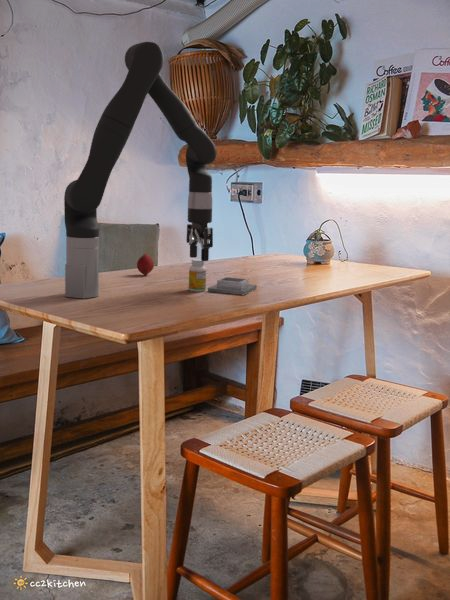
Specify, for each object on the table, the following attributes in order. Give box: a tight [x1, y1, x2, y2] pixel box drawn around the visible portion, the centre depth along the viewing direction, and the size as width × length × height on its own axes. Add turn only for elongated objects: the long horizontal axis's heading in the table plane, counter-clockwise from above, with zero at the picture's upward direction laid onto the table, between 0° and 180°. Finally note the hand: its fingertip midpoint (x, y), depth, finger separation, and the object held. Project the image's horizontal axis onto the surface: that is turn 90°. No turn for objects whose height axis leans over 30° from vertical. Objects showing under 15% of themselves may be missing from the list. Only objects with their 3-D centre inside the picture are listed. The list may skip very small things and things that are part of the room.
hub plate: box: [207, 276, 258, 296], centre depth 218 cm, size 14×12×3 cm
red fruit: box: [136, 252, 155, 276], centre depth 240 cm, size 6×6×8 cm
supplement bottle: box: [188, 258, 207, 293], centre depth 215 cm, size 5×5×10 cm
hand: (198, 259), depth 214 cm, fingers open, 8 cm apart
